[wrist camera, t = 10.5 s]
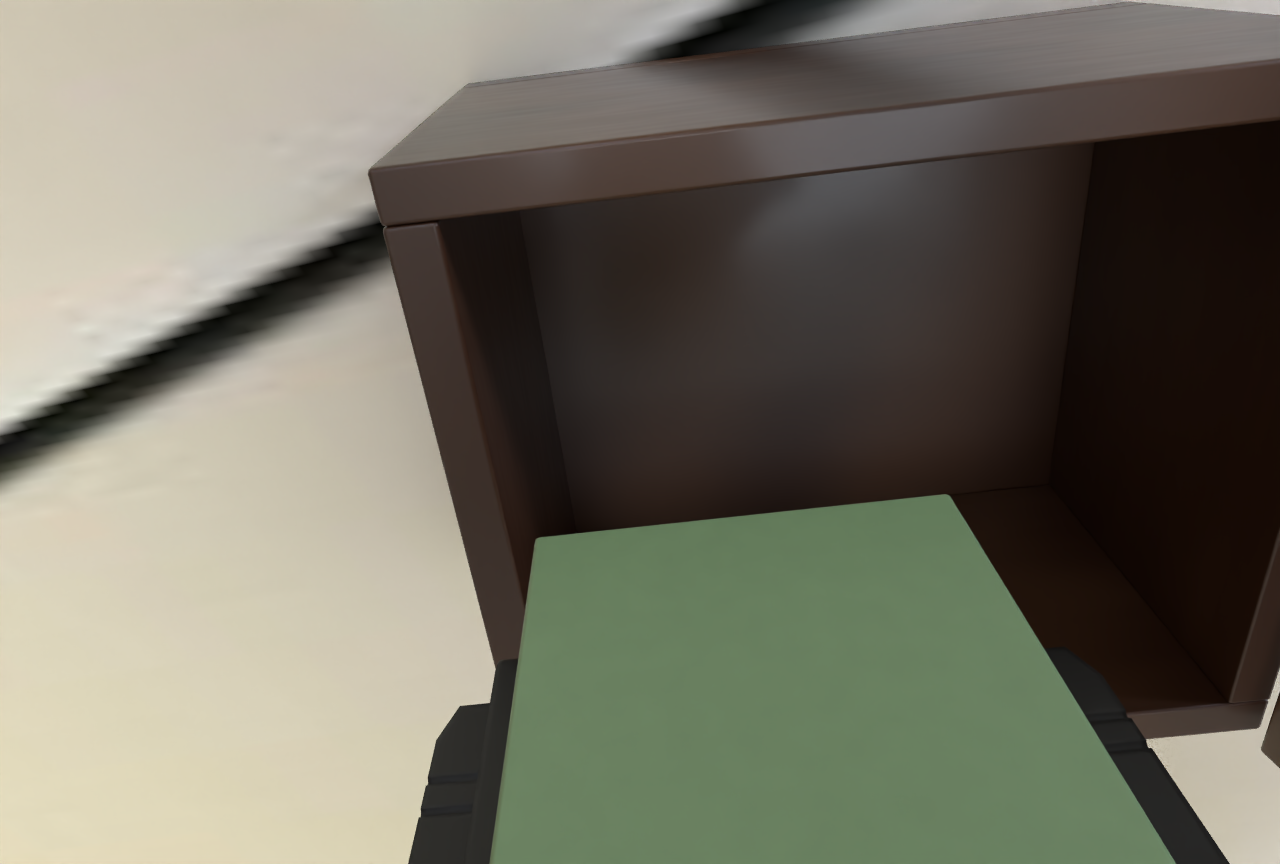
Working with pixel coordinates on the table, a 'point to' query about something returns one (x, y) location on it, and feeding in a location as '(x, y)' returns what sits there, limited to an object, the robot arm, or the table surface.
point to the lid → (1273, 736)
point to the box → (884, 315)
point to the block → (798, 703)
